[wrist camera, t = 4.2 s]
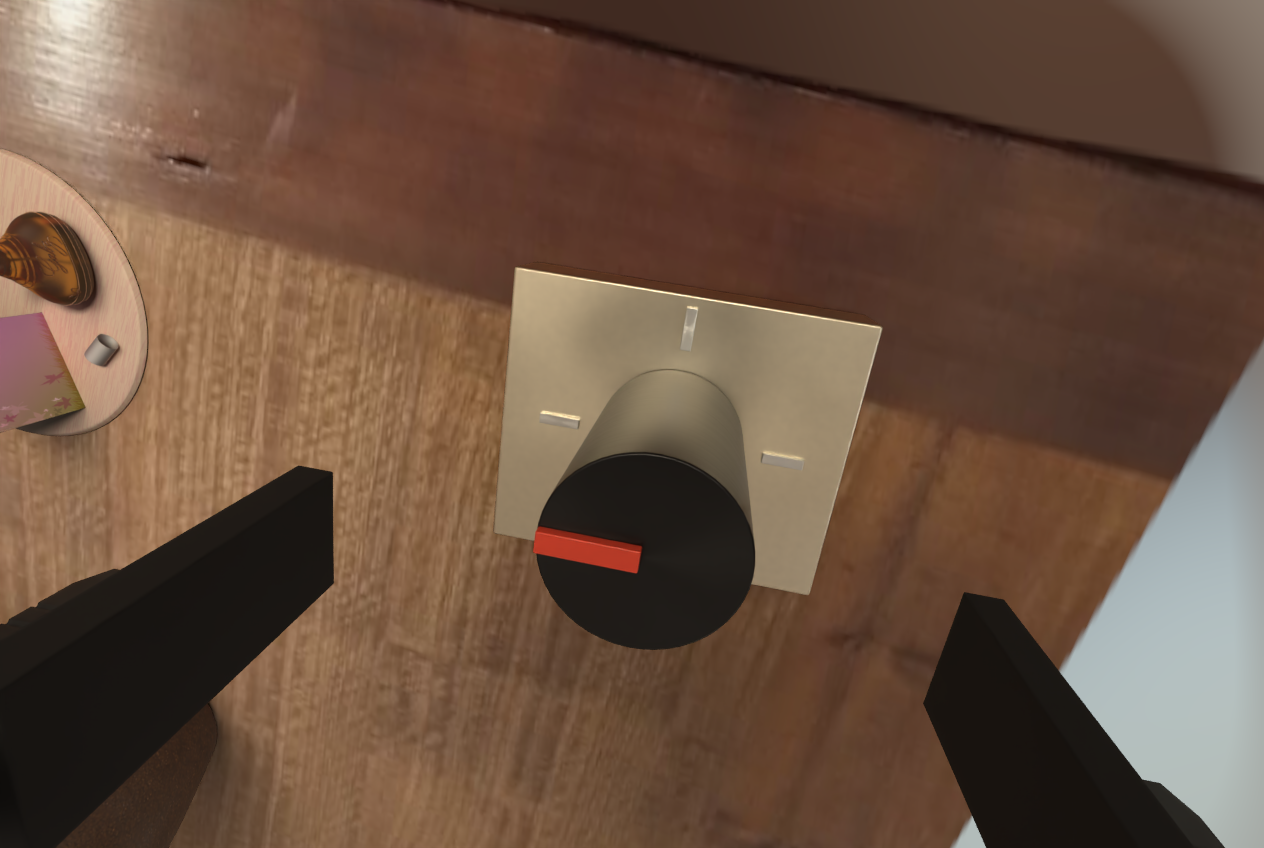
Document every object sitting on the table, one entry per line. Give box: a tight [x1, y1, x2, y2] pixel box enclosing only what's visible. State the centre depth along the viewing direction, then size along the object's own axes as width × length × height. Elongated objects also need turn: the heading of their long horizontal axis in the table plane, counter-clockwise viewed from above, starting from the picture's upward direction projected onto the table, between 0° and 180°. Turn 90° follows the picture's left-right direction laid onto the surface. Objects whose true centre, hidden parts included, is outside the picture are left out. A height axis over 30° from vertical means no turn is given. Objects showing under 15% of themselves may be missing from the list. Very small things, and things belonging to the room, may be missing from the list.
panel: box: [493, 262, 883, 595], centre depth 23 cm, size 12×10×3 cm
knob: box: [533, 370, 755, 650], centre depth 18 cm, size 5×5×8 cm
